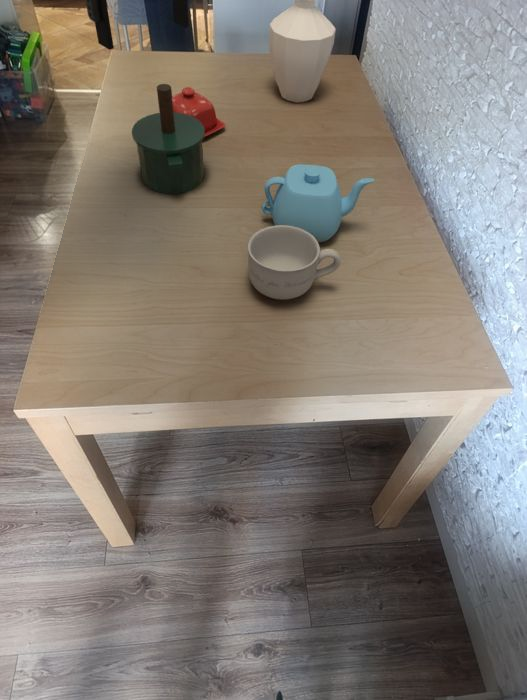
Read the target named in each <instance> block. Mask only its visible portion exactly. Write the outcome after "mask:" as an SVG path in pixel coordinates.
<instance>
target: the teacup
mask: <svg viewBox="0 0 527 700" xmlns="http://www.w3.org/2000/svg"><path fill="white" fill-rule="evenodd" d="M247 253H248V254H247V255H248V256H247V257H248V258H247V263H248V264H247V266H248V267H247V268H248V276H249V279H250V282H251V285H252V286H253V288H254V289H256V290H257V291H258V292H259V293H260V294H262V295H263V296H266V297H269V298H271V299H274V300H290V299H295V298H298V297H301V296H302V295H304V294H305V293H306V292H308V291H309V289H310V288H311V287H312V285H313V284H314V281H317V280H318V279H319V278H322V277H324V276H327V275H330V274H332V273H334V272H336V271H337V270H338V269H339V267H340V265H341V263H342V261H341V256H340V253H339V252H338V251H337V250H336V249H333V248H324V249H322V250H321V247H320V244H319V242H317V240H316V239H315V237H314V236H313V235H311V234H310V233H308V232H307V231H305V230H302V229H300V228H297V227H293V226H287V225H277V226H275V225H270V226H267V227H264V228H262V229H259V230H257V231H256V232H255V233H254V234H253V235H252V236H251V237H250V238H249V240H248V244H247ZM326 258H331V259H333V262H332V263H331V264H329V265H327V266H325V267H321V268H318V266H319V265H320V264H321V262H322V261H323V260H324V259H326Z"/></svg>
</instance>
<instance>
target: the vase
mask: <svg viewBox="0 0 527 700" xmlns="http://www.w3.org/2000/svg"><path fill="white" fill-rule="evenodd" d="M316 3H317V0H294V4H292V5H291V6H289V7H288V8H287V9H285V10H284V11H283V12H281V13H280V14H278V15H276V16H275V17H274V18H273V19H272V20H271V22H270V23H269V29H268V45H269V55H270V59H271V64H272V69H273V74H274V79H275V83H276V84H277V87H278V90H279V93H280V96H281V98H283V99H284V100H286V101H289V102H293V103H296V104H297V103H305V102H307V101H310V100H312V99H313V97H314V95H315V94H316V92H317V89H318V87H319V84H320V82H321V80H322V77H323V74H324V72H325V70H326V67H327V65H328V62H329V59H330V57H331V54H332V50H333V48H334V43H335V36H336V30H337V28H336V27H335V26H334V25H333V23H332V22H331V21H330V20H329V19H328V17H326V16H325V14H324V13H323V12H322V11H321V10H320V9H319V8H318V7H317V6H316Z"/></svg>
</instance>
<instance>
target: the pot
mask: <svg viewBox="0 0 527 700" xmlns="http://www.w3.org/2000/svg"><path fill="white" fill-rule="evenodd" d="M136 148H137V155H138V161H139V166H140V173H141V179H142V182H143V183H144V184H145V186H147V188H149V189H151V190H153V191H155V192H158V193H162V194H170V195H171V194H175V195H176V194H183V193H187V192H189V191H191V190H193V189H195V188H197V187H198V186H199V185H200V184H201V183H202V181H203V180H204V174H205V172H204V171H205V170H204V169H205V168H204V154H203V153H204V150H203V141H202V142H201V143H200V144H199V145H197V146H196V147H194V148H192V149H190V150H187V151H183V152H179V153H157V152H152V151H149V150H146V149H144V148H142V147H140V146H139V145H138V144H136Z"/></svg>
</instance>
